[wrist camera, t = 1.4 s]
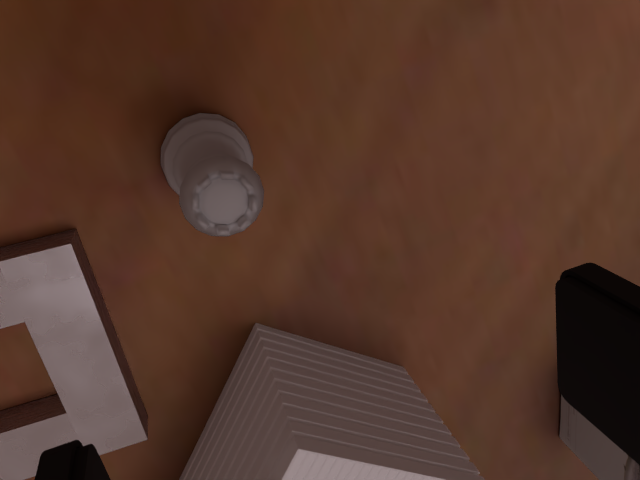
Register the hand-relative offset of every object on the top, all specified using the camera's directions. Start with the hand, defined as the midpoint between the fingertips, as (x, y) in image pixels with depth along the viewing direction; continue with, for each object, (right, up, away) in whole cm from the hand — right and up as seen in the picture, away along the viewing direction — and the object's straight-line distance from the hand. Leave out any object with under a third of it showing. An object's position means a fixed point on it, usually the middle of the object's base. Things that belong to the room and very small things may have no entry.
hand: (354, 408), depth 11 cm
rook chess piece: (-6, +8, +17) cm, 20 cm away
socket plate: (-17, -3, +18) cm, 25 cm away
